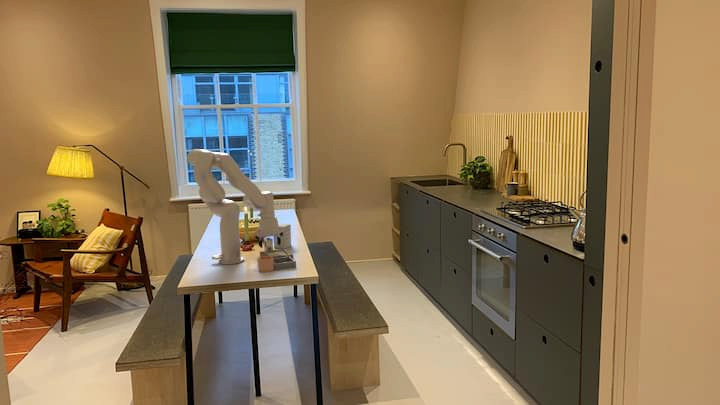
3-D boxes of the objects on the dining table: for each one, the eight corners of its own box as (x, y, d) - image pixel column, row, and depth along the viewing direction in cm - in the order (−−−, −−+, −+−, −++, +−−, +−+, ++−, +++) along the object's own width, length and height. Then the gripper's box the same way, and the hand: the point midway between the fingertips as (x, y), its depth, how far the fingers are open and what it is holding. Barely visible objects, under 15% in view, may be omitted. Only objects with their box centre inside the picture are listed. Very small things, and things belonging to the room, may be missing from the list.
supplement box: (273, 247, 303) (272, 225, 301) (280, 244, 309) (279, 223, 307) (285, 248, 300) (284, 226, 298) (291, 245, 307) (290, 223, 305)
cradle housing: (266, 263, 270) (266, 257, 269) (260, 257, 283) (259, 251, 282) (293, 260, 275) (293, 254, 275) (285, 254, 288) (285, 248, 288)
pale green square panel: (270, 259, 273) (270, 257, 273) (265, 255, 281) (265, 253, 281) (287, 256, 276) (287, 254, 276) (282, 252, 285) (282, 251, 284)
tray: (274, 270, 258) (274, 264, 258) (269, 264, 268) (269, 259, 267) (296, 267, 262) (295, 261, 262) (289, 262, 272) (289, 256, 271)
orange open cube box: (261, 272, 255) (260, 260, 254) (257, 269, 260) (257, 257, 259) (274, 270, 257) (273, 258, 256) (270, 267, 263) (270, 255, 262)
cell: (265, 255, 287) (265, 239, 285) (263, 253, 291) (263, 237, 289) (274, 254, 288) (273, 238, 287) (271, 252, 292) (271, 236, 291)
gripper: (252, 218, 280) (255, 250, 283) (285, 213, 286) (287, 245, 289) (249, 215, 286) (252, 246, 289) (281, 211, 293) (283, 242, 296)
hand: (270, 246), depth 289 cm, fingers open, 9 cm apart
